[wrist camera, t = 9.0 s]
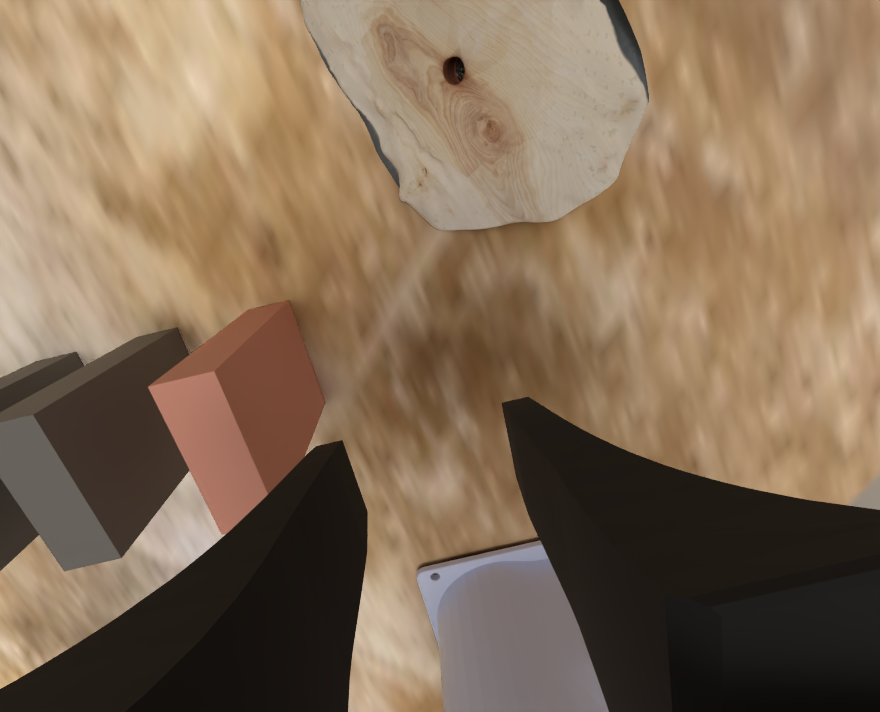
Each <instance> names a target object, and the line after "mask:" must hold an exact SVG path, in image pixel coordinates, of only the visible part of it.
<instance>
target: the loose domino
mask: <svg viewBox="0 0 880 712" xmlns="http://www.w3.org/2000/svg"><path fill="white" fill-rule="evenodd" d="M148 388H149V390H150V392H151V394H152V396H153V398H154V400H155V402H156V404H157V406H158V408H159V410H160V412H161V414H162V416H163V418H164V420H165V422H166V424H167V426H168V428H169V430H170V432H171V434H172V436H173V438H174V440H175V442H176V444H177V446H178V448H179V450H180V452H181V454H182V456H183V458H184V460H185V462H186V464H187V466H188V468H189V470H190V472H191V474H192V476H193V478H194V480H195V482H196V484H197V486H198V488H199V490H200V492H201V494H202V496H203V498H204V500H205V502H206V504H207V506H208V508H209V510H210V512H211V514H212V516H213V518H214V520H215V522H216V524H217V526H218V528H219V530H220V532H221V534H225V533H228V532H229V531H230V530H231V529H232V528H233V527H234V526H235V525H236V524H238V523H239V522H240V521H241V520H242V519H243V518H244V517H245V516H246V515H247V514H248V513H249V512H250V511H251V510H252V509H253V508H254V507H256V506H257V505H258V504H259V503H260V502H261V501H262V500H263V499H264V498H265V497H266V496H267V495H268V494H269V493H270V492H271V491H272V490H273V489H274V488H275V487H276V486H277V485H278V484H279V482H280V481H281V480H282V479H283V478H284V477H285V476H286V475H287V474H288V473H289V472H290V471H291V470H292V469H293V468H294V467H295V466H296V465H297V464H298V463H299V462H300V461H301V460H302V459H303V458H304V457H305V454H306V452H307V449H308V446H309V444H310V441H311V439H312V436H313V433H314V431H315V428H316V426H317V423H318V420H319V418H320V415H321V413H322V410H323V407H324V405H325V401H324V398H323V395H322V392H321V390H320V387H319V384H318V381H317V378H316V375H315V372H314V370H313V367H312V364H311V361H310V358H309V355H308V353H307V350H306V347H305V344H304V341H303V338H302V336H301V333H300V330H299V327H298V324H297V321H296V318H295V316H294V313H293V310H292V307H291V304H290V301H289V300H288V301H284V302H279V303H275V304H271V305H267V306H263V307H258V308H254V309H250V310H247V311H246V312H245V313H243V314H242V315H241V316H240V317H238V318H237V319H236V320H234V321H233V322H232V323H230V324H229V325H228V326H227V327H225V328H224V329H223V330H221V331H220V332H219V333H217V334H216V335H215V336H213V337H212V338H211V339H210V340H208V341H207V342H206V343H204V344H203V345H202V346H200V347H199V348H198V349H196V350H195V351H194V352H193V353H191V354H190V355H189V356H187V357H186V358H185V359H183V360H182V361H181V362H180V363H178V364H177V365H176V366H174V367H173V368H172V369H170V370H169V371H168V372H166V373H165V374H164V375H163V376H161V377H160V378H159V379H157V380H156V381H155V382H153V383H152V384H151V385H149V386H148Z"/></svg>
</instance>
